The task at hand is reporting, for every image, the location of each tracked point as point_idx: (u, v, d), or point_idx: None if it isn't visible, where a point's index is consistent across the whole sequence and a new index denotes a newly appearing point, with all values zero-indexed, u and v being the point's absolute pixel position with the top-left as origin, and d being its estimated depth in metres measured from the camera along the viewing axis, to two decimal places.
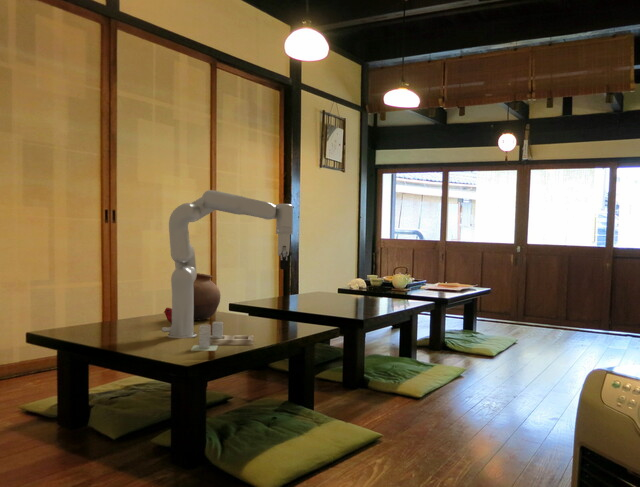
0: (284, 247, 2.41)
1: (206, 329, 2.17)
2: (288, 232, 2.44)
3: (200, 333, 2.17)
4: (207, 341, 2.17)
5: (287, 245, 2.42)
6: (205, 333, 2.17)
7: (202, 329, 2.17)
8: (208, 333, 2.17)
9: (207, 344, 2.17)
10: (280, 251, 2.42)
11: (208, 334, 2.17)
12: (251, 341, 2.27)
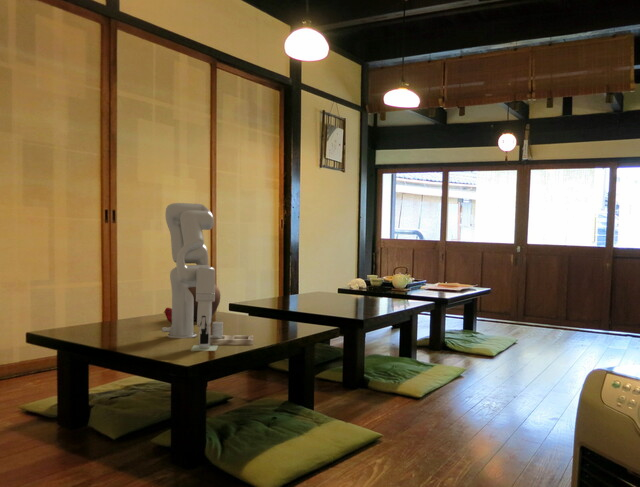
0: (203, 321, 2.13)
1: None
2: (209, 300, 2.15)
3: None
4: None
5: (207, 315, 2.14)
6: None
7: None
8: (208, 333, 2.17)
9: (207, 344, 2.17)
10: (199, 322, 2.14)
11: (208, 334, 2.17)
12: (251, 341, 2.27)
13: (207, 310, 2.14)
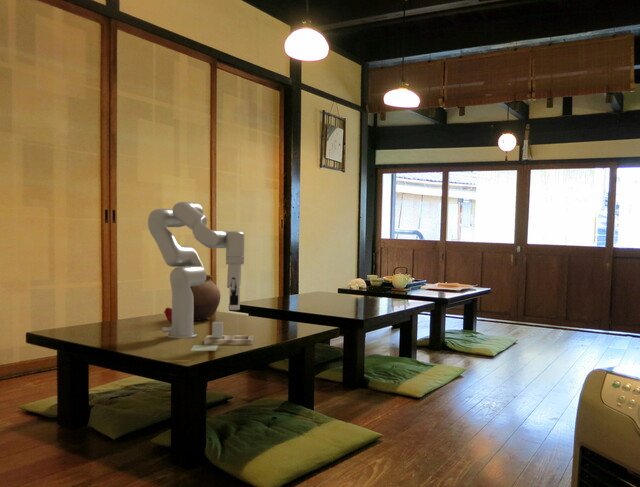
0: (233, 282, 2.22)
1: None
2: (238, 262, 2.25)
3: None
4: None
5: (237, 277, 2.23)
6: None
7: None
8: (238, 295, 2.26)
9: (237, 305, 2.26)
10: (229, 283, 2.23)
11: (238, 296, 2.26)
12: (251, 341, 2.27)
13: (237, 272, 2.23)
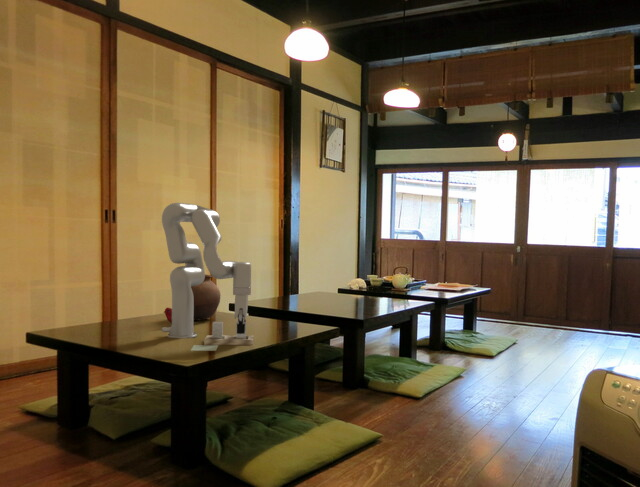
0: (240, 310, 2.25)
1: None
2: (245, 293, 2.28)
3: None
4: (244, 337, 2.29)
5: (244, 307, 2.26)
6: None
7: None
8: (245, 330, 2.29)
9: None
10: (236, 314, 2.26)
11: None
12: (251, 341, 2.27)
13: (244, 303, 2.26)
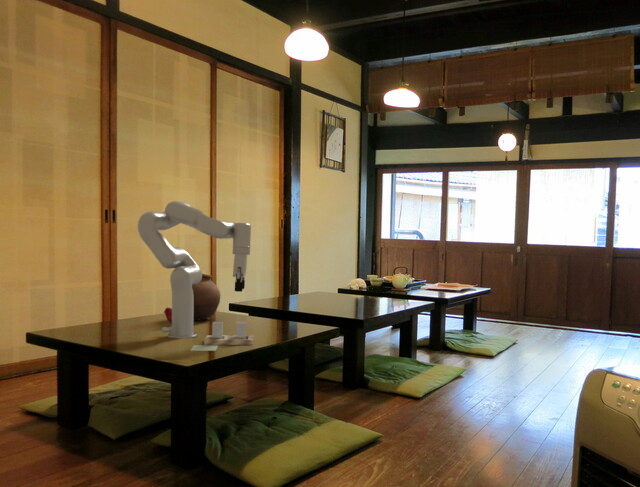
0: (239, 269, 2.31)
1: (242, 326, 2.29)
2: (244, 253, 2.33)
3: (237, 330, 2.29)
4: (244, 337, 2.29)
5: (242, 266, 2.32)
6: (242, 330, 2.29)
7: (239, 326, 2.29)
8: (244, 330, 2.29)
9: None
10: (235, 272, 2.32)
11: (244, 330, 2.29)
12: (251, 341, 2.27)
13: (243, 262, 2.32)
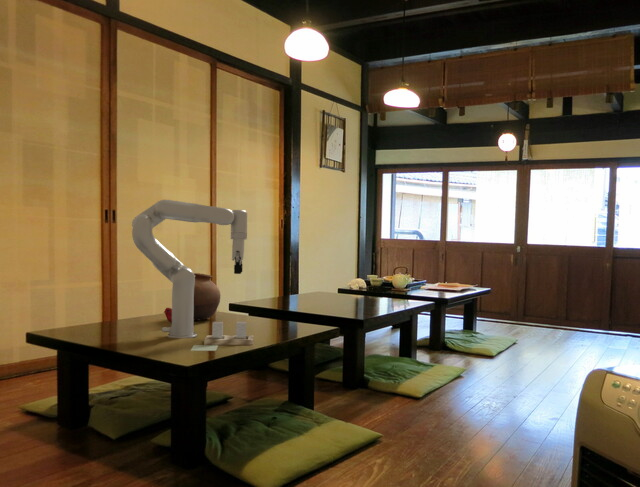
0: (237, 252, 2.47)
1: (242, 326, 2.29)
2: (242, 237, 2.50)
3: (237, 330, 2.29)
4: (244, 337, 2.29)
5: (241, 250, 2.48)
6: (242, 330, 2.29)
7: (239, 326, 2.29)
8: (245, 330, 2.29)
9: None
10: (234, 256, 2.48)
11: (244, 330, 2.29)
12: (251, 341, 2.27)
13: (241, 246, 2.48)
